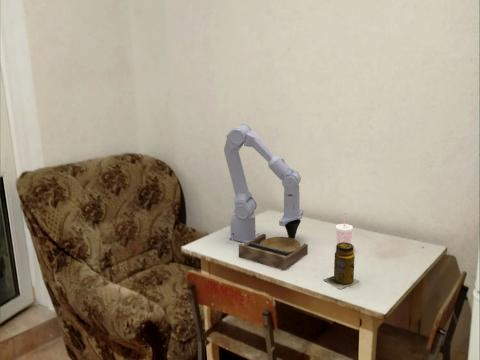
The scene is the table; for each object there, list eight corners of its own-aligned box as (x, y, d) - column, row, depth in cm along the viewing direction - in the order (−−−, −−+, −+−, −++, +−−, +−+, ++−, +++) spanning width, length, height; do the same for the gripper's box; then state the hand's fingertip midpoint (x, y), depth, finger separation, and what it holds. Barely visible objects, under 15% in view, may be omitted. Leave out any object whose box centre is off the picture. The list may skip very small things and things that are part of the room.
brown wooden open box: (238, 256, 161) (238, 245, 160) (263, 242, 173) (263, 231, 172) (285, 270, 150) (285, 257, 149) (307, 253, 163) (307, 241, 161)
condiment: (359, 281, 142) (361, 246, 138) (340, 289, 137) (341, 253, 134) (342, 273, 147) (343, 238, 144) (323, 280, 143) (323, 245, 140)
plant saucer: (255, 245, 171) (255, 239, 170) (292, 240, 174) (292, 234, 174) (266, 261, 157) (266, 254, 156) (306, 256, 160) (306, 249, 160)
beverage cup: (331, 250, 164) (332, 214, 161) (340, 245, 169) (341, 209, 165) (346, 255, 160) (348, 217, 157) (355, 249, 165) (356, 213, 161)
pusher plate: (249, 253, 164) (249, 243, 163) (251, 252, 164) (250, 242, 163) (287, 263, 155) (287, 253, 154) (288, 262, 155) (288, 252, 154)
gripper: (291, 211, 160) (291, 247, 164) (310, 200, 171) (310, 234, 175) (274, 208, 164) (274, 242, 168) (294, 197, 175) (294, 230, 179)
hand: (291, 238), depth 171 cm, fingers closed
